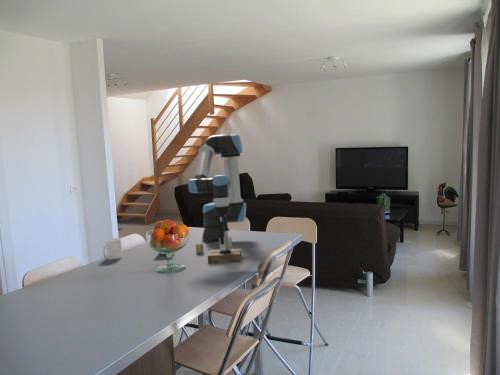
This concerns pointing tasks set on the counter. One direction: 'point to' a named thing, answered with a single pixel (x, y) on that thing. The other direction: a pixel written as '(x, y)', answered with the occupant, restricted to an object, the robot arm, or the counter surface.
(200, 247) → the short pin
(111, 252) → the cup
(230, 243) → the medium pin
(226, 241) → the long pin
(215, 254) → the hole board
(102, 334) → the counter surface
